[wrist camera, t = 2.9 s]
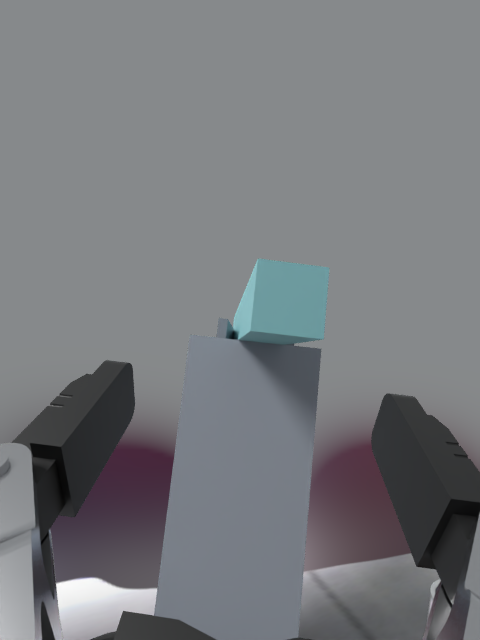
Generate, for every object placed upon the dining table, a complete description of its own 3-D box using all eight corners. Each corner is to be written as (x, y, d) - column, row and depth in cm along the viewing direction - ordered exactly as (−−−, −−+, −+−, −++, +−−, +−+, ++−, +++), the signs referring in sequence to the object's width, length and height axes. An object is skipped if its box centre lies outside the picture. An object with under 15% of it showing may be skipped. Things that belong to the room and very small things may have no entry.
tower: (127, 822, 21) (192, 315, 25) (167, 672, 31) (209, 327, 34) (281, 849, 20) (322, 329, 24) (270, 688, 30) (301, 337, 34)
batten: (250, 330, 15) (257, 258, 15) (231, 345, 39) (234, 316, 39) (323, 339, 15) (329, 267, 15) (259, 348, 39) (262, 320, 39)
